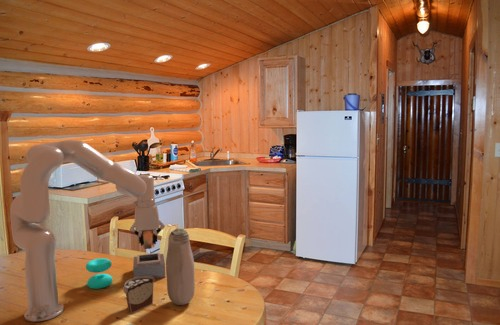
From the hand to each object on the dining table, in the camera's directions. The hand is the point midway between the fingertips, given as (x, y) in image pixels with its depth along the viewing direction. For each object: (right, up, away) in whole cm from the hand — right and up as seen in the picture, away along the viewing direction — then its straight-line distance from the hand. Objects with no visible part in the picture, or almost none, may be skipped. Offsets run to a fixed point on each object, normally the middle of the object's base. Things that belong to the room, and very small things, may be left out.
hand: (148, 243), depth 180 cm
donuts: (-18, -15, -9) cm, 25 cm away
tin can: (0, -1, 0) cm, 1 cm away
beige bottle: (+19, -17, -26) cm, 37 cm away
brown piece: (+3, -18, -28) cm, 34 cm away
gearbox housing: (0, -13, +2) cm, 13 cm away
